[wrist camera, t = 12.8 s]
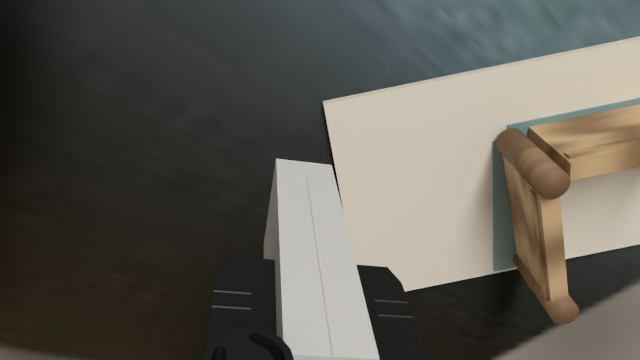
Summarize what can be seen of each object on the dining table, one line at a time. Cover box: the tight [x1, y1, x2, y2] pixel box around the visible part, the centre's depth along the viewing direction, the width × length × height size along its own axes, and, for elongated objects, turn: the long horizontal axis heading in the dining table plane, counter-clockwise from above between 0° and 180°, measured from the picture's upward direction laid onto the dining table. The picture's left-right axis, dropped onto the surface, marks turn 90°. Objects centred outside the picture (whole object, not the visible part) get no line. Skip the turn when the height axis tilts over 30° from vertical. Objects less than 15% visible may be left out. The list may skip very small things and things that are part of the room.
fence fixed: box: [528, 104, 640, 181], centre depth 37 cm, size 12×2×7 cm, turn 100°
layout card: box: [323, 36, 640, 291], centre depth 43 cm, size 28×20×1 cm
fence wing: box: [496, 128, 579, 324], centre depth 40 cm, size 15×2×7 cm, turn 17°
